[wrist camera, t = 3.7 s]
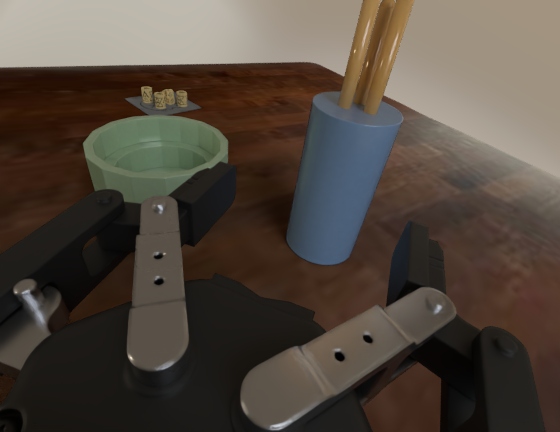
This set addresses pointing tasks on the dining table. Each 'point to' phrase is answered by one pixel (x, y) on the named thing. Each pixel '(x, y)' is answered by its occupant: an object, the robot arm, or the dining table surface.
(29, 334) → the robot arm
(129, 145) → the bowl
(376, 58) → the breadstick jar
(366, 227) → the dining table surface
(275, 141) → the dining table surface
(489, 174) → the dining table surface
